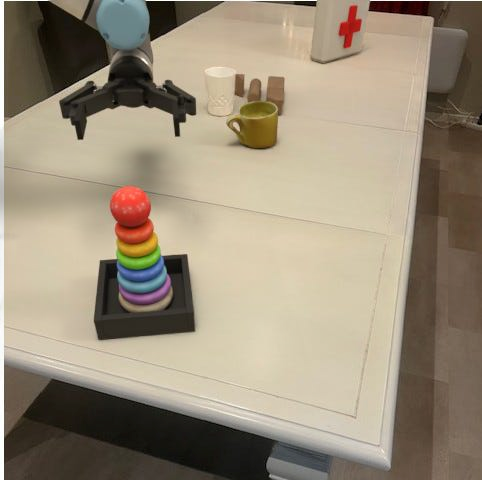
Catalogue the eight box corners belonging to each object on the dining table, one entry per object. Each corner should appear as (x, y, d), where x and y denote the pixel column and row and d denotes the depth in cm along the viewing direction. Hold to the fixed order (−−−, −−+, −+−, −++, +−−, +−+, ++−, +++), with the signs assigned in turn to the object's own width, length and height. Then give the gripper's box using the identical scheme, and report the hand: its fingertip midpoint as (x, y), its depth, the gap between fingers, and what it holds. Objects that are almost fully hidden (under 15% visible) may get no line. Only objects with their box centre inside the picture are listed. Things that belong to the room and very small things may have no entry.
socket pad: (98, 340, 67) (93, 320, 65) (103, 278, 77) (99, 260, 74) (195, 331, 69) (193, 312, 66) (188, 272, 79) (187, 253, 76)
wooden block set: (285, 71, 137) (284, 94, 123) (283, 92, 140) (282, 116, 127) (225, 68, 137) (218, 90, 124) (225, 89, 141) (218, 112, 128)
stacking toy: (122, 283, 75) (101, 172, 62) (174, 282, 76) (164, 171, 63) (116, 318, 69) (92, 204, 56) (172, 317, 70) (161, 203, 57)
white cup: (207, 105, 132) (206, 66, 125) (235, 106, 131) (236, 67, 125) (204, 116, 126) (203, 76, 119) (234, 117, 126) (235, 77, 119)
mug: (276, 122, 119) (273, 88, 110) (284, 152, 114) (282, 118, 106) (227, 133, 120) (221, 99, 111) (234, 163, 115) (227, 130, 106)
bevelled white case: (326, 65, 159) (335, -5, 146) (308, 60, 164) (315, -10, 150) (364, 54, 170) (377, -13, 156) (346, 49, 174) (357, -17, 160)
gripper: (204, 99, 87) (216, 151, 72) (61, 102, 84) (42, 157, 69) (203, 53, 82) (216, 99, 67) (50, 55, 79) (28, 103, 64)
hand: (128, 129), depth 68 cm, fingers open, 13 cm apart
